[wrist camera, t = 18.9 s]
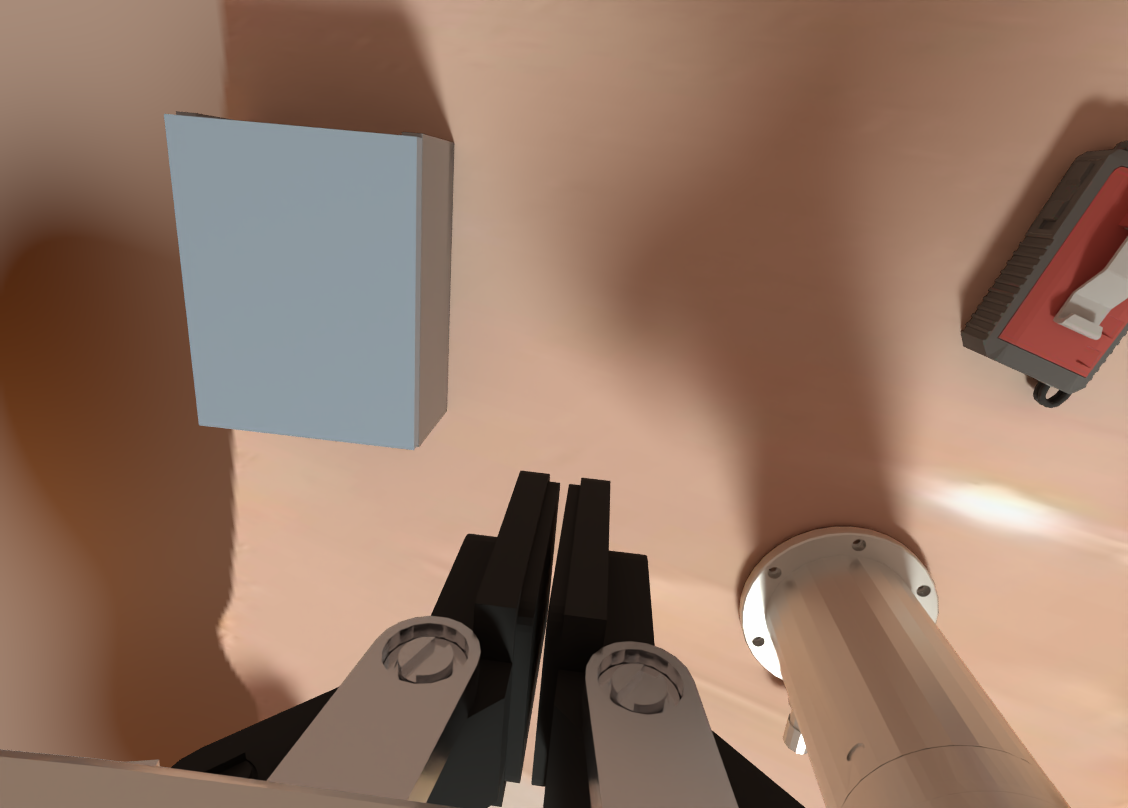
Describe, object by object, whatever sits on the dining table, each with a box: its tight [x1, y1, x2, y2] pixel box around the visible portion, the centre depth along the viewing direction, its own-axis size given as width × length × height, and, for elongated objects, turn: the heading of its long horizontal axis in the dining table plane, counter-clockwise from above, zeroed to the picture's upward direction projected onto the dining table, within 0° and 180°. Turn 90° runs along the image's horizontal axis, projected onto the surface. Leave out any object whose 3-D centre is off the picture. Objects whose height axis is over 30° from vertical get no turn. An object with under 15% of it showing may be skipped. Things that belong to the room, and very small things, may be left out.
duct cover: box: [164, 114, 422, 450], centre depth 32 cm, size 16×12×1 cm
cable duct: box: [176, 112, 454, 447], centre depth 35 cm, size 16×12×6 cm
